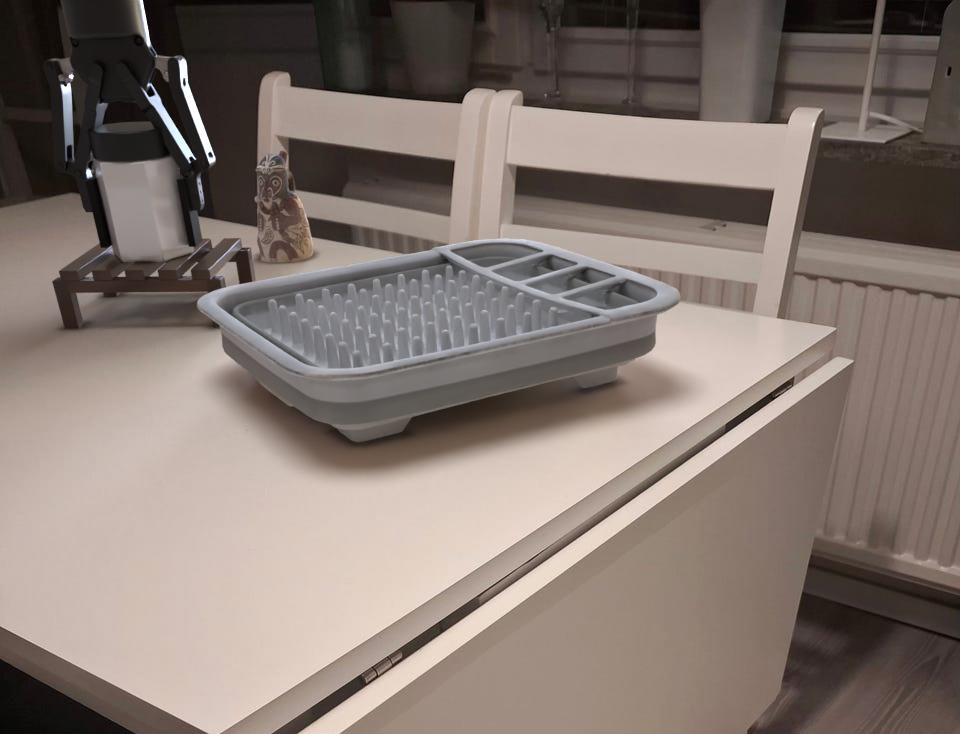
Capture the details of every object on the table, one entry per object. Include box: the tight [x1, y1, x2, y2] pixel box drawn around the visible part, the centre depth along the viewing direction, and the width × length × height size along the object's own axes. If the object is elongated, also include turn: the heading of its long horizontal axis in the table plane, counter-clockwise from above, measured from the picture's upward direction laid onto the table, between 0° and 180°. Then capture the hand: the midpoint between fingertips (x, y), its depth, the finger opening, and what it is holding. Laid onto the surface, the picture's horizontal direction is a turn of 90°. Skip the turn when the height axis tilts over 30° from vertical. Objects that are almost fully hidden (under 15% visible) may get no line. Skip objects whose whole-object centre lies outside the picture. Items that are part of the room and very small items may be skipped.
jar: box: [88, 121, 194, 262], centre depth 106 cm, size 9×8×12 cm
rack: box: [52, 237, 257, 330], centre depth 112 cm, size 18×14×6 cm
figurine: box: [254, 150, 314, 264], centre depth 128 cm, size 7×7×12 cm
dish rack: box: [196, 238, 682, 443], centre depth 92 cm, size 32×37×8 cm
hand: (152, 244), depth 109 cm, fingers closed on jar, 9 cm apart
